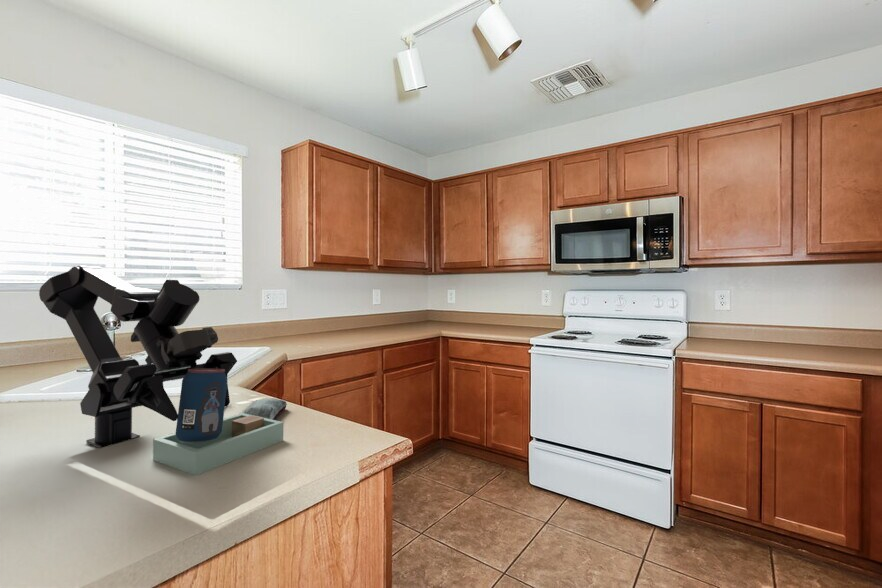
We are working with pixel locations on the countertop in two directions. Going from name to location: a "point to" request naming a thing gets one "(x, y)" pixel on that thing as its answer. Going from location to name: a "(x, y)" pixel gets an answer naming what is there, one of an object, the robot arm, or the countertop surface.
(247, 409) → the packaged food
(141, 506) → the countertop surface
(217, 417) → the soda can
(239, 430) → the walnut block
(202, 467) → the tray
